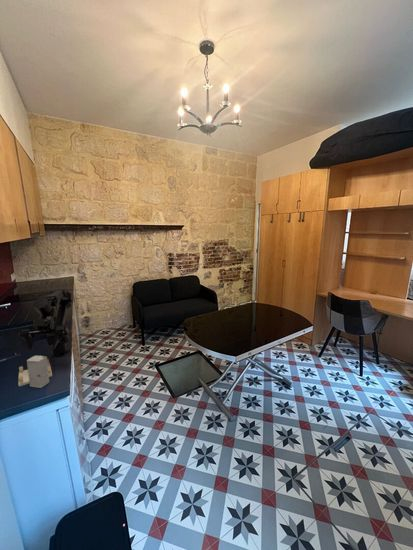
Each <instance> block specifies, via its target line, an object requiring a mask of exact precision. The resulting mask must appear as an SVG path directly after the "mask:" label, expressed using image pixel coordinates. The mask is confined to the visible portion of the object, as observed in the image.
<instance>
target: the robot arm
mask: <svg viewBox="0 0 413 550" xmlns="http://www.w3.org/2000/svg"><path fill="white" fill-rule="evenodd" d="M72 294H73V293H71V292H69V291H67V290H66V289H64V288H63V289H62V288H61V289H60V288H59V289H55V290H54V292H52V293H51V294H50V295H49V294H48V295H44V296H43V295H42V296H40V295H39V298H37V299H36V300H34V302H33V304H32V306H33V308H34V309H35V311H36V312H37V313H38V314H39V315H40V316H39V317H40V318H38V319H33V325H32V328H34V329H35V330H36V331H35V330H34V331H33V330H31V329H30V328H29V329H28V328H27V329H21V330H20V331H19V332H18V334H17V336H18V337H19V339H21V340H22V341H25V342H26V345H27V346H26V347H27V350H28V352H29V353H31V352H32V350H33V347H34V346H33V345H34V338H35V337H36V336H42V335H46V342H47V345H48V346H52V353H51V355H50V356H51V357H63V356H65V355H66V354H67V353H68V352H69V351H70V349H67V343H68V342H70V337H69V332H70V330H69V328H68V326H67V325H66V324H65V323H66V320H67V319H66V318H67V315H68V309H69V308H71V307H72V304H73V303H74V296H73V295H72ZM54 307H58V308H57V312H56V309H55V308H54ZM55 316H56V317H55Z"/></svg>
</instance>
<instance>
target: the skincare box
mask: <svg viewBox="0 0 413 550" xmlns="http://www.w3.org/2000/svg"><path fill="white" fill-rule="evenodd" d="M47 359H48V357H47V356H44V355H33V356H32V357H30V358H29V359H27V360H26V365H27V370H28V375H29V383H28V384H29V387H31V388H37V389H38V388H40V389H41V388H43V387H45V386H47V384H49V383H50V377H49V373H48V364H47Z"/></svg>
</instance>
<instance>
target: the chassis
mask: <svg viewBox="0 0 413 550" xmlns="http://www.w3.org/2000/svg"><path fill="white" fill-rule="evenodd" d="M47 364H48V373H49V378H50V377H52V376H53V372H52V367H51V363H50V360H49V358H47ZM18 370H19V371H18V377H17V378H18V384H17V385H18V387H22V386H25V385H28V384H30V383H29V375H28V369H24V367H23V366H22V365H21V366H19V367H18Z"/></svg>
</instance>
